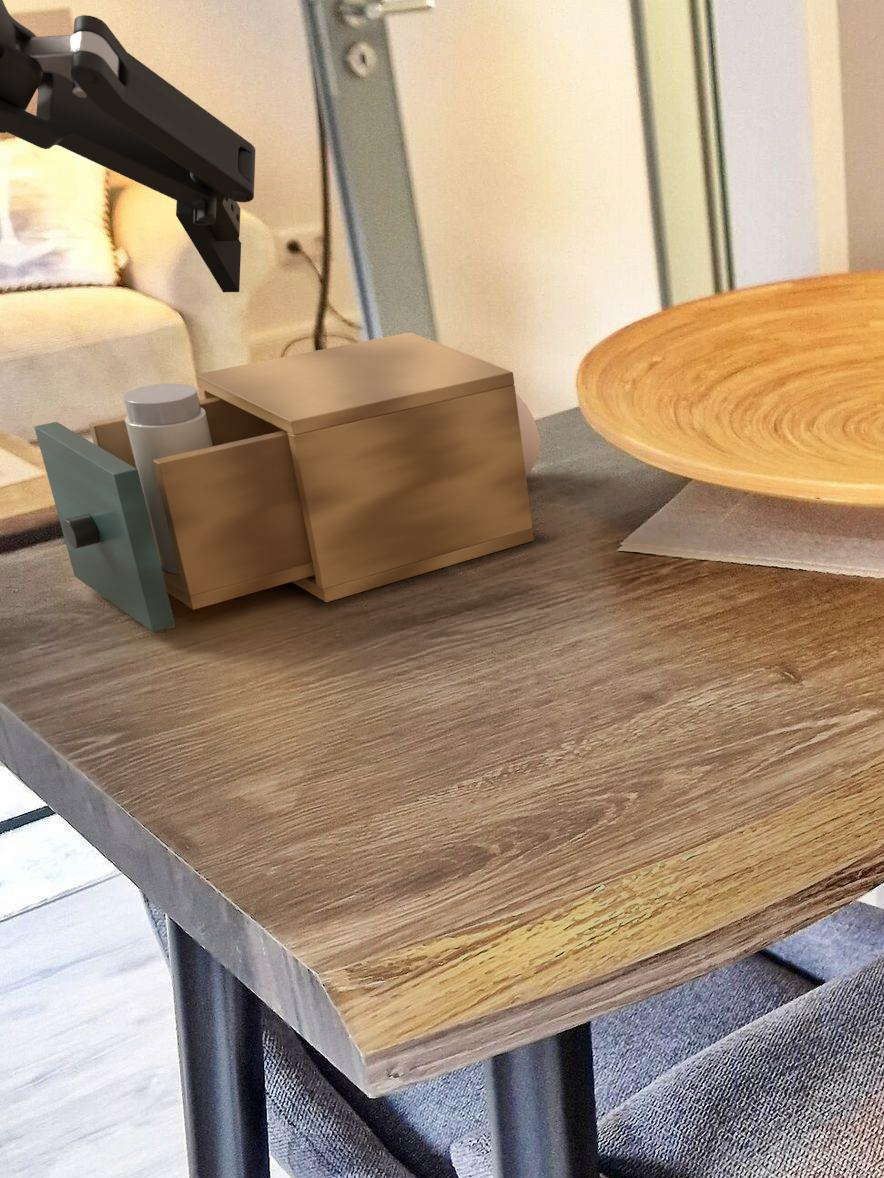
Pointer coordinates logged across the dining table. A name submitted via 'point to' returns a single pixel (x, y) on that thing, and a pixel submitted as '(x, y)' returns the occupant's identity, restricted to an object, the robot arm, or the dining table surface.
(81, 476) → the drawer
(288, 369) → the cabinet
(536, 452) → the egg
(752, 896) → the dining table surface
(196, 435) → the salt shaker
